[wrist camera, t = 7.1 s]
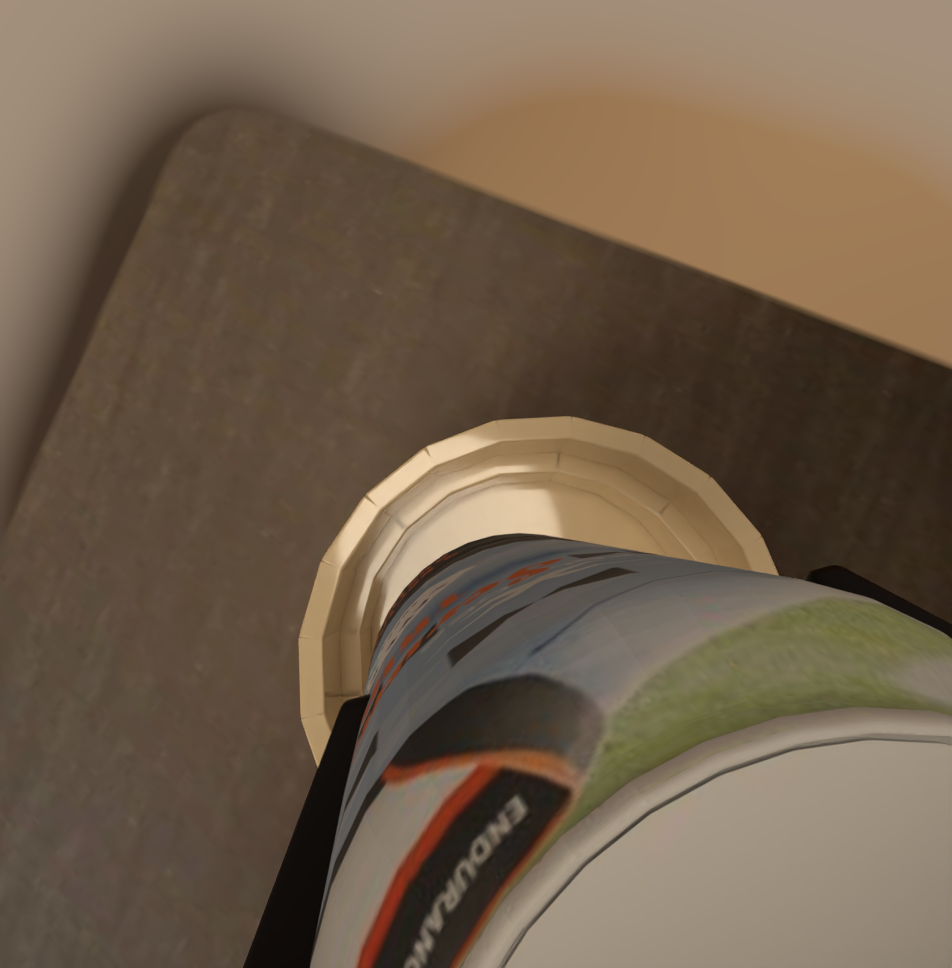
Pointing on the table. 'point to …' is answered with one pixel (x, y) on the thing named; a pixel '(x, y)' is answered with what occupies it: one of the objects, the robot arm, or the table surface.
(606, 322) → the table surface
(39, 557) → the table surface
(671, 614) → the beverage can
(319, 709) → the bowl
